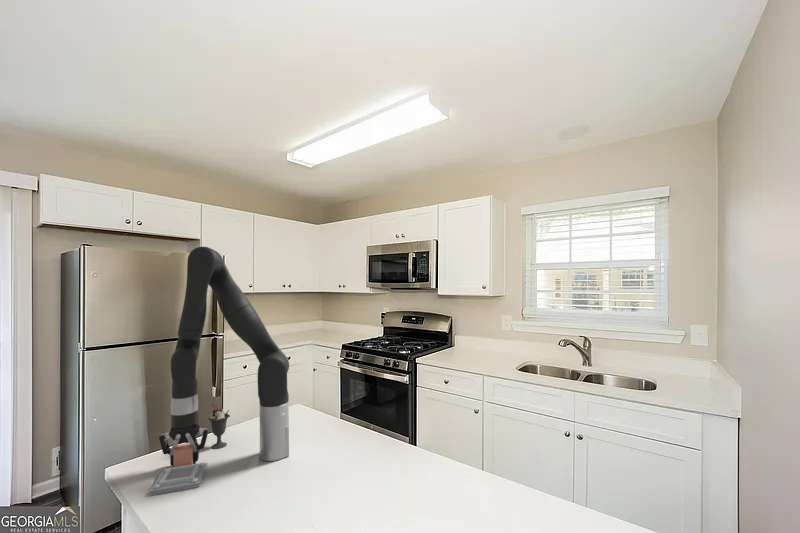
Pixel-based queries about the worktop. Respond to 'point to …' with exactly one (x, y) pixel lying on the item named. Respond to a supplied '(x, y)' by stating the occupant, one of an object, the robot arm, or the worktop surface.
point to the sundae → (218, 426)
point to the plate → (179, 478)
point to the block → (183, 455)
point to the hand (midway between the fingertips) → (184, 464)
